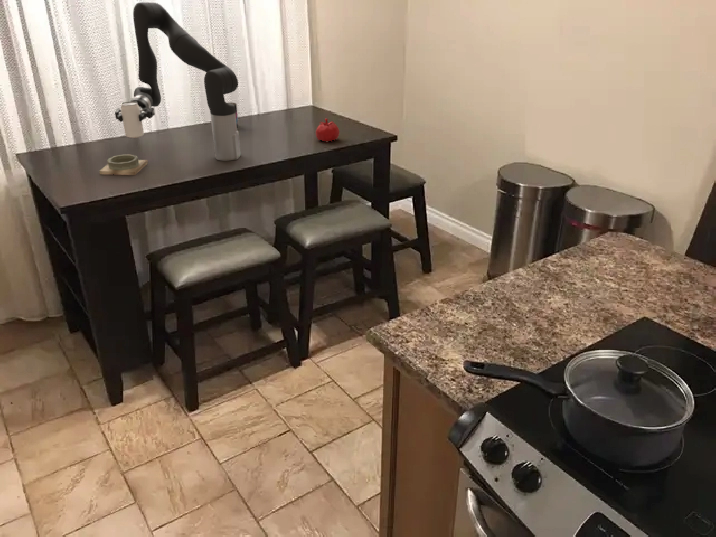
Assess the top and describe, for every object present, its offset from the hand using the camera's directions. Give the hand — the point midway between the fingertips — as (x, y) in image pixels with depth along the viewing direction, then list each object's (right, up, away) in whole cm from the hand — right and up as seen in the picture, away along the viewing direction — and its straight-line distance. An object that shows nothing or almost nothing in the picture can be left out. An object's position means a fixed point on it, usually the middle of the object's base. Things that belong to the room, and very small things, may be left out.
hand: (130, 118), depth 220 cm
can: (0, -5, +6) cm, 8 cm away
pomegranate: (+69, 0, +38) cm, 79 cm away
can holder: (-4, -17, +6) cm, 19 cm away
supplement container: (+25, +9, +55) cm, 61 cm away
